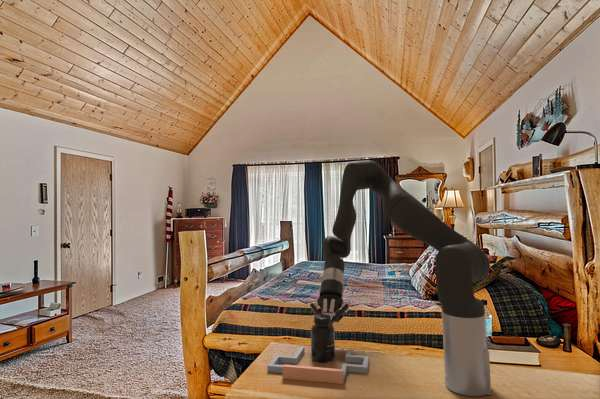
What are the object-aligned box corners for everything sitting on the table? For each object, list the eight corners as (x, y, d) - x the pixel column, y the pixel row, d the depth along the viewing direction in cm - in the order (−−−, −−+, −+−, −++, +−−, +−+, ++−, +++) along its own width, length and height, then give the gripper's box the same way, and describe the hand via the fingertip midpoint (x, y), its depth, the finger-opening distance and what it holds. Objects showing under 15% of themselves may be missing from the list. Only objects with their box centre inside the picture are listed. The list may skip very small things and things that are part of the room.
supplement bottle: (334, 364, 98) (333, 319, 98) (310, 363, 99) (308, 319, 99) (335, 354, 105) (334, 313, 105) (312, 353, 106) (311, 312, 106)
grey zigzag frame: (369, 356, 102) (369, 345, 103) (365, 386, 85) (364, 373, 85) (284, 350, 109) (284, 340, 109) (263, 376, 91) (263, 364, 92)
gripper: (311, 277, 119) (303, 326, 107) (350, 278, 116) (347, 328, 103) (315, 290, 124) (307, 338, 112) (353, 291, 121) (349, 340, 108)
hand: (326, 333), depth 107 cm, fingers closed
